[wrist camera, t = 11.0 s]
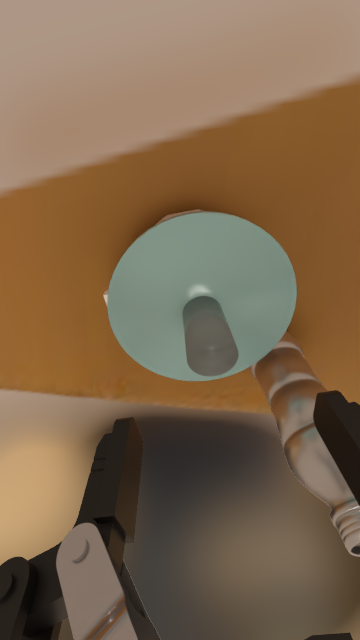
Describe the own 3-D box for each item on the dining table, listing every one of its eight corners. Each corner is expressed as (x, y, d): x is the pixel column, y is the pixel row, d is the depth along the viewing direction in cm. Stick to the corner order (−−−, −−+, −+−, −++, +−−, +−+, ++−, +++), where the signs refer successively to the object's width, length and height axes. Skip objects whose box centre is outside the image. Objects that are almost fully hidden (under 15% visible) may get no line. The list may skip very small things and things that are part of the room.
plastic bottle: (239, 364, 33) (314, 569, 16) (240, 322, 30) (336, 528, 13) (287, 358, 33) (413, 559, 16) (293, 316, 29) (464, 516, 12)
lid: (300, 193, 15) (367, 205, 10) (283, 362, 22) (317, 418, 17) (82, 230, 16) (41, 258, 11) (135, 382, 23) (125, 442, 18)
